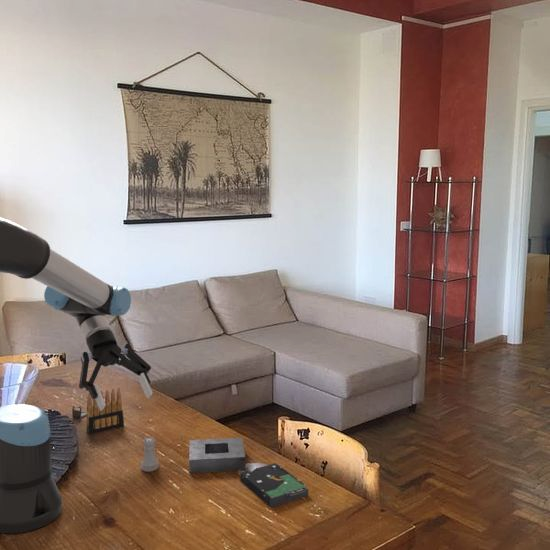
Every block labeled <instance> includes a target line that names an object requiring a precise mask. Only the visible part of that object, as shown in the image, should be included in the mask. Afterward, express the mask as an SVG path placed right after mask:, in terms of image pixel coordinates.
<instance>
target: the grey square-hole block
mask: <svg viewBox="0 0 550 550" xmlns="http://www.w3.org/2000/svg"><path fill="white" fill-rule="evenodd" d="M188 452H189V455H188V469H189V470H188V471H189V473H188V474H202V473H203V474H204V473H216V472H217V473H218V472H220V473H221V472H234V471H235V472H236V471H238V472H239V471H246V453H245V452H246V451H245V448H244V441H243V437H228V438H227V437H225V438H209V439H208V438H207V439H204V438H203V439H190V440H189V451H188Z"/></svg>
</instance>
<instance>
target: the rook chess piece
mask: <svg viewBox="0 0 550 550" xmlns="http://www.w3.org/2000/svg"><path fill="white" fill-rule="evenodd" d="M155 443H156V440H155V437H153V436H147V437H146V436H145V437H144V438H143V441H142V445H143V446H144V447H143V449H144V451H143V452H144V454H143V458H142V461H141V462H140V469H141V471H143V472H145V473H146V472H147V473H150V472H151V473H152V472H154V471H157V470H158V469H159V460H158V459H157V457H156V454H155V453H156V452H155V448H156V447H155Z"/></svg>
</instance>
